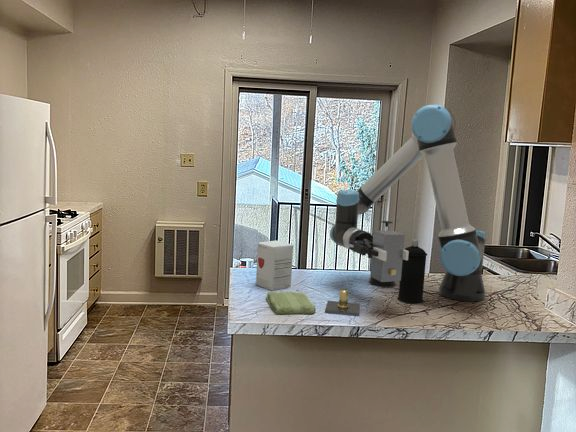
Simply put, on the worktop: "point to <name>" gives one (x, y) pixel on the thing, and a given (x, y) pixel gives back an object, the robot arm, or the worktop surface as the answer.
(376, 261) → the grey block
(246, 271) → the worktop surface
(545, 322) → the worktop surface
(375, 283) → the french press
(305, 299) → the washcloth
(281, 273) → the supplement box
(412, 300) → the aerosol can
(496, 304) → the worktop surface
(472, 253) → the robot arm
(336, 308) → the post base
